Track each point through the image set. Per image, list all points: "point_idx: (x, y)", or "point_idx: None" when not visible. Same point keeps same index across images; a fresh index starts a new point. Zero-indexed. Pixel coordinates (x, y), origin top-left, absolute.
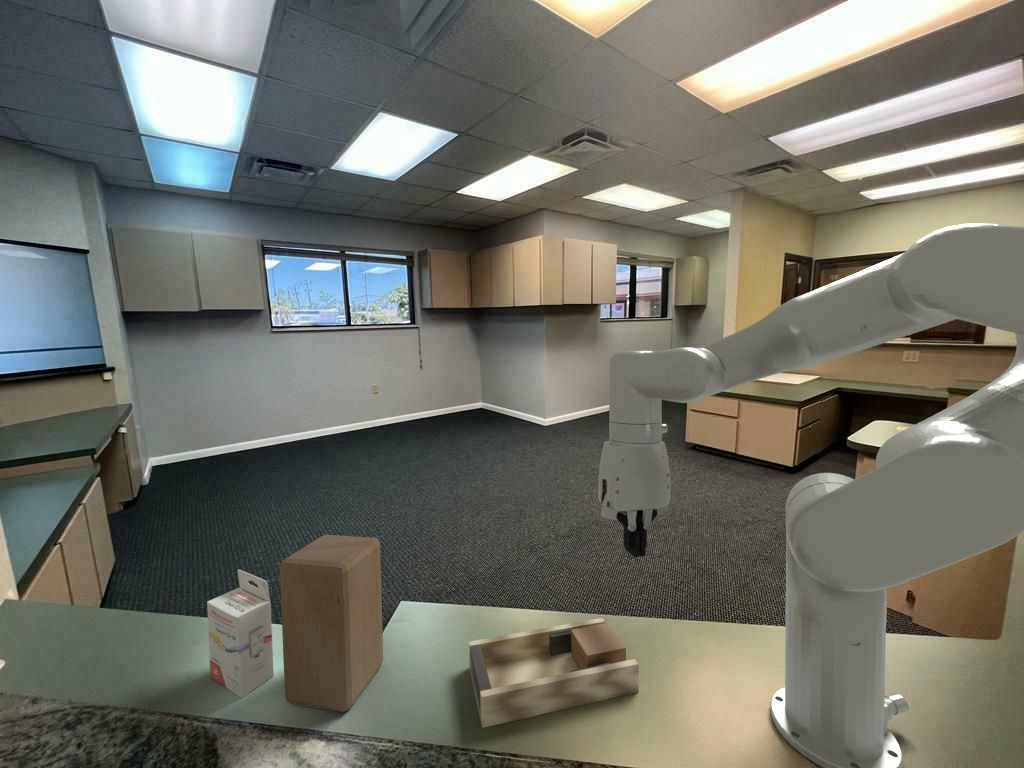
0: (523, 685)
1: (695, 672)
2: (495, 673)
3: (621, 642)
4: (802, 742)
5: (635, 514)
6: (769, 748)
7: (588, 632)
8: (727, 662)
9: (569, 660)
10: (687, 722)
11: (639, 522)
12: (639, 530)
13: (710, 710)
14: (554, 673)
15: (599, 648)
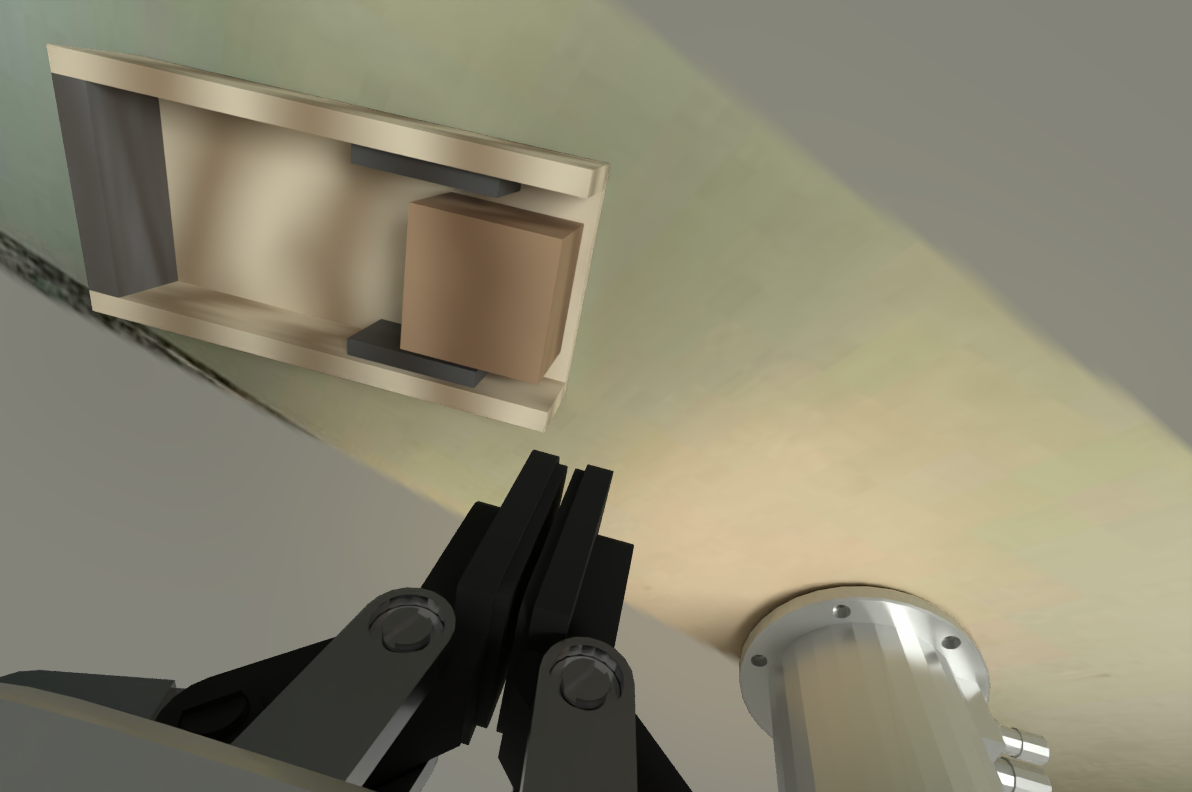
0: (201, 330)
1: (771, 428)
2: (199, 144)
3: (541, 357)
4: (751, 672)
5: (526, 747)
6: (702, 621)
7: (463, 252)
8: (902, 452)
9: None
10: (604, 509)
11: (513, 761)
12: (501, 722)
13: (682, 518)
14: (368, 237)
15: (454, 342)
